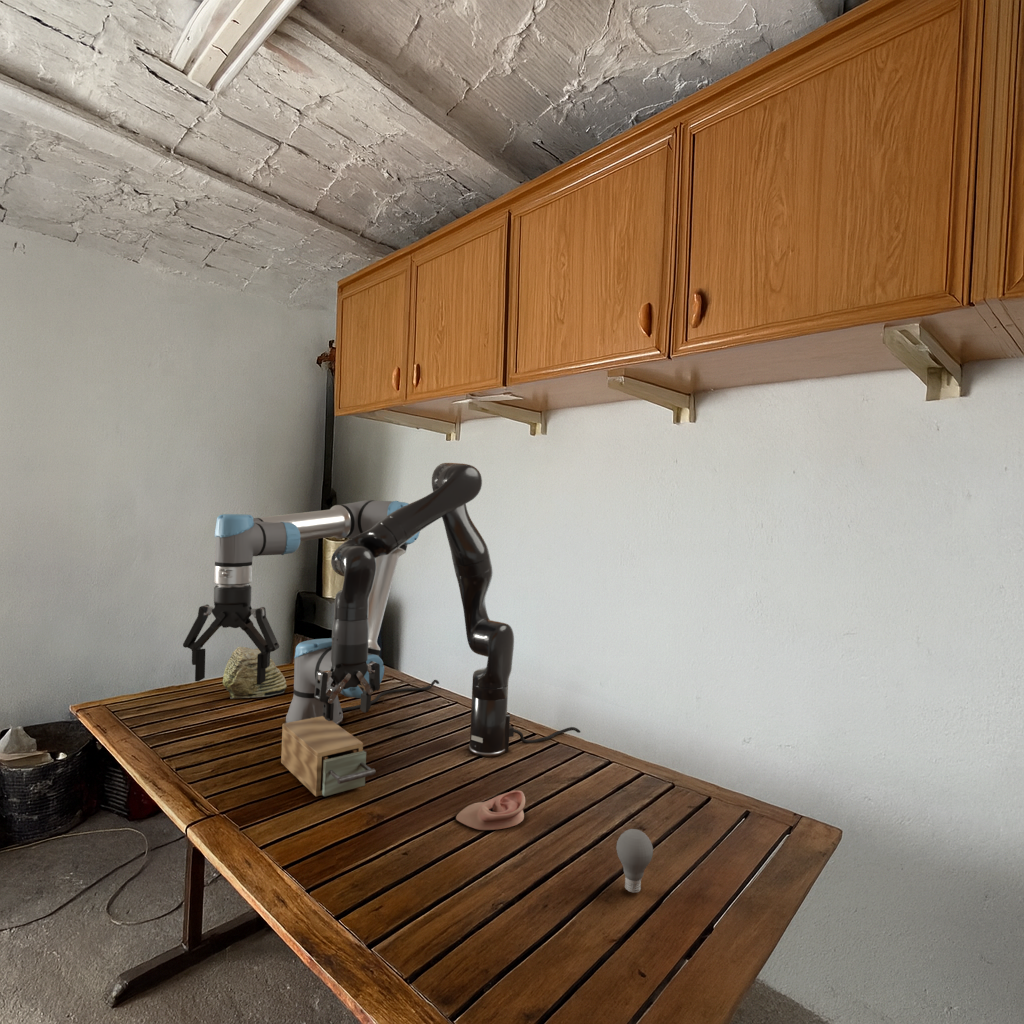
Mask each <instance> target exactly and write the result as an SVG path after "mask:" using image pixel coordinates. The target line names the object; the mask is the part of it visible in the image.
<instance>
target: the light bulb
mask: <svg viewBox="0 0 1024 1024" xmlns="http://www.w3.org/2000/svg"><path fill="white" fill-rule="evenodd" d="M615 849H616V854H617V857H618V859H619V861H620V863H621V865H622V867H623V873H624V874H623V875H624V876H625V878H624V888H625V890H627V891H628V892H630V893H634V894H635V893H639V892H640V891H641V889H642V887H641V886H642V879H643V877H644V875H645V871H646V868H647V867H648V866H649V864H650V863H651V861H652V859H653V855H654V847H653V843H652V841H651V838H649V836H648V835H647V834H646V833H645V832H643V831H642V830H641V829H636V828H629V829H627V830H625V831H623V832H622V833H621V834H620V835H619V837H618V839H617V841H616V847H615Z"/></svg>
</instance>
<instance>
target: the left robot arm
mask: <svg viewBox="0 0 1024 1024" xmlns="http://www.w3.org/2000/svg"><path fill="white" fill-rule="evenodd" d="M408 504H410V503H408V502H405V501H399V500H374V499H366V500H365V499H364V500H360V501H354V502H349V503H343V504H335V505H333V506H331V507H330V508H329V509H323V510H322V509H321V510H314V511H313V510H312V511H305V512H294V513H287V514H278V515H269V516H260V517H253V515H251V514H246V513H245V514H244V513H222V514H219V515H218V516H217V517H216V522H215V529H214V577H213V579H214V580H213V583H214V584H215V586H214V587H213V606H210V605H209V604H203V605H201V606H199V607H198V611H197V617H196V619H195V621H194V622H193V623H192V624H193V625H192V626H191V628H190V630H189V631H188V634H187V636H186V637H185V639H184V641H183V643H182V647H183V648H185V649H190V650H191V665H192V666H194V668H195V669H194V682H200V681H201V680H202V681H203V680H204V679H205V678H206V648H204V646H205V644H206V643H207V642H208V641H209V640H210V639H211V638H212V637H213V636H214V634H215V633H216V632H217V631H218V630H219V629H220V628H221V627H222V628H223V629H227V628H231V629H238V628H239V629H240V630H242V631H244V633H245V634H246V635H247V636H248V637H249V639H250V640H251V642H252V643H253V644H254V646H255V647H256V649H257V648H258V649H259V650H260V651H261V653H259V654H258V658H257V684H261V683H263V682H264V681H265V676H266V668H267V667H269V665H270V658H271V652H273V653H274V652H275V651H276V650H278V649H279V648H280V644H279V642H278V639H277V638H276V636H275V633H274V631H273V629H272V627H271V624H270V622H269V620H268V618H267V612H266V611H267V610H266V607H265V606H261V607H259V608H258V607H257V608H252V585H250V584H251V583H252V582H253V558H254V557H262V556H279V555H281V556H285V555H287V554H288V555H289V554H294V553H295V552H296V551H297V550H298V549H299V547H300V545H301V542H303V541H312V540H317V539H325V538H331V537H334V538H336V539H339V540H342V539H351V538H353V537H355V536H357V535H359V534H361V533H363V532H365V531H367V530H369V529H371V528H372V527H373V526H375V525H376V524H377V523H379V522H380V521H381V520H383V519H384V518H385V517H387V516H388V515H389V514H391V513H392V512H394V511H396V510H398V509H400V508H402V507H404V506H406V505H408ZM420 533H421V531H420V532H418V533H417V534H415V535H414V536H413V537H411V538H410V539H409V540H408V541H406V542H405V543H404V544H403V545H401V546H400V547H399V548H397V549H396V550H395V551H393V552H392V553H390V554H388V555H382V556H379V557H377V558H375V560H376V574H375V578H374V582H373V586H372V590H371V593H370V596H369V611H368V624H369V640H368V660H367V661H366V663H367V664H369V663H370V662H371V661H373V662H376V663H378V664H379V665H380V684H381V683H382V681H383V678H384V675H385V666H384V661H383V659H382V658H381V657H380V653H381V647H380V646H379V644H378V639H379V638H378V637H379V635H380V631H381V628H382V623H383V620H384V616H385V611H386V608H387V605H388V600H389V596H390V592H391V589H392V584H393V581H394V578H395V577H394V576H395V573H396V569H397V566H398V561H399V558H400V557H402V556H403V555H404V554H406V552H407V549H408V546H409V545H411V544H414V542H416V541H417V539H418V538H419V536H420ZM211 614H212V615H213V617H214V620H213V622H211V624H209V627H207V628H206V629H205V631H204V632H203V633H202V634H201V635H200V633H201V631H202V629H203V627H204V626H205V624H206V622H207V620H208V618H209V616H211ZM251 616H253V618H254V619H255V620H256V623H257V625H258V628H259V630H260V631H261V633H260V632H259V630H258V629H257V628H256V627H255V625H254V622H253V621H252V620H251V618H250V617H251ZM199 635H200V636H199ZM331 649H332V637H329V638H315V639H308V640H304V641H301V642H299V643H298V644H297V645H296V646H295V652H294V656H293V659H294V661H293V662H294V668H293V695H292V696H293V697H292V699H291V702H290V704H289V708H288V711H287V713H286V715H285V723H289V722H294V721H299V720H305V719H310V718H315V717H320V716H323V702H321V701H319V700H317V699H315V698H314V694H315V684H316V674H317V671H318V670H321V671H330V669H331V667H332V662H331ZM364 678H365V679H366V681H367V682H368V683H369V672H368V671H367V672H366V674H365V676H364ZM331 680H332V678H331V677H330V678H329V681H328V682H327V687H328V685H329V683H330V682H331ZM435 683H436V684H437V685H439V684H440V681H439V680H438V679H433V680H432V682H431V683H430V684H429V685H431V686H429V685H427V686H423V687H404V688H395V689H389V690H385V691H382V692H379V693H378V694H377V696H376V697H375V698H374V699H373V700H372V699H371V705H374V704H376V703H377V702H379V699H380V698H381V697H382V696H385V695H389V694H394V693H401V692H419V691H420V692H421V691H426V690H429V689H431V688H433V686H434V685H435ZM336 687H337V685H335V688H336ZM326 691H327V689H326ZM362 693H363V692H362V690H361V689H360V688H359V686H357V687H350V688H348V689H342V691H341V692H340V694H338V695H337V696H336V698H335V699H334V701H333V702H332V703H334V709H333V720H332V721H333V722H334V723H336V724H337V725H339V726H340V725H342V723H343V722H344V714H343V712H346V711H351V710H352V711H353V710H357V709H360V708H361V704H356V705H353V706H346V707H342V706H341V702H340V699H339V695H343V696H344V697H347V698H355V699H361V694H362Z"/></svg>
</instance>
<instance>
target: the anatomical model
mask: <svg viewBox="0 0 1024 1024" xmlns="http://www.w3.org/2000/svg"><path fill="white" fill-rule="evenodd" d="M525 806H526V797H525V793H524V792H523V791H522V790H520V789H519V790H511V791H509V792H508V791H507V792H504V793H502V794H499V795H496V796H494V797H493V798H490V799H488V800H486V801H480V802H474V803H471V804H469V805H467V806H466V807H464V808H463V809H461V811H458V813H457V815H456V816H455V819H456V821H457V822H459V823H461V824H463V825H464V826H466V827H469V828H472V829H475V830H479V831H494V830H495V831H496V830H502V829H507V828H512V827H514V826H517V825H519V824H521V822H523V821H524V819H525V812H524V809H525Z"/></svg>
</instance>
